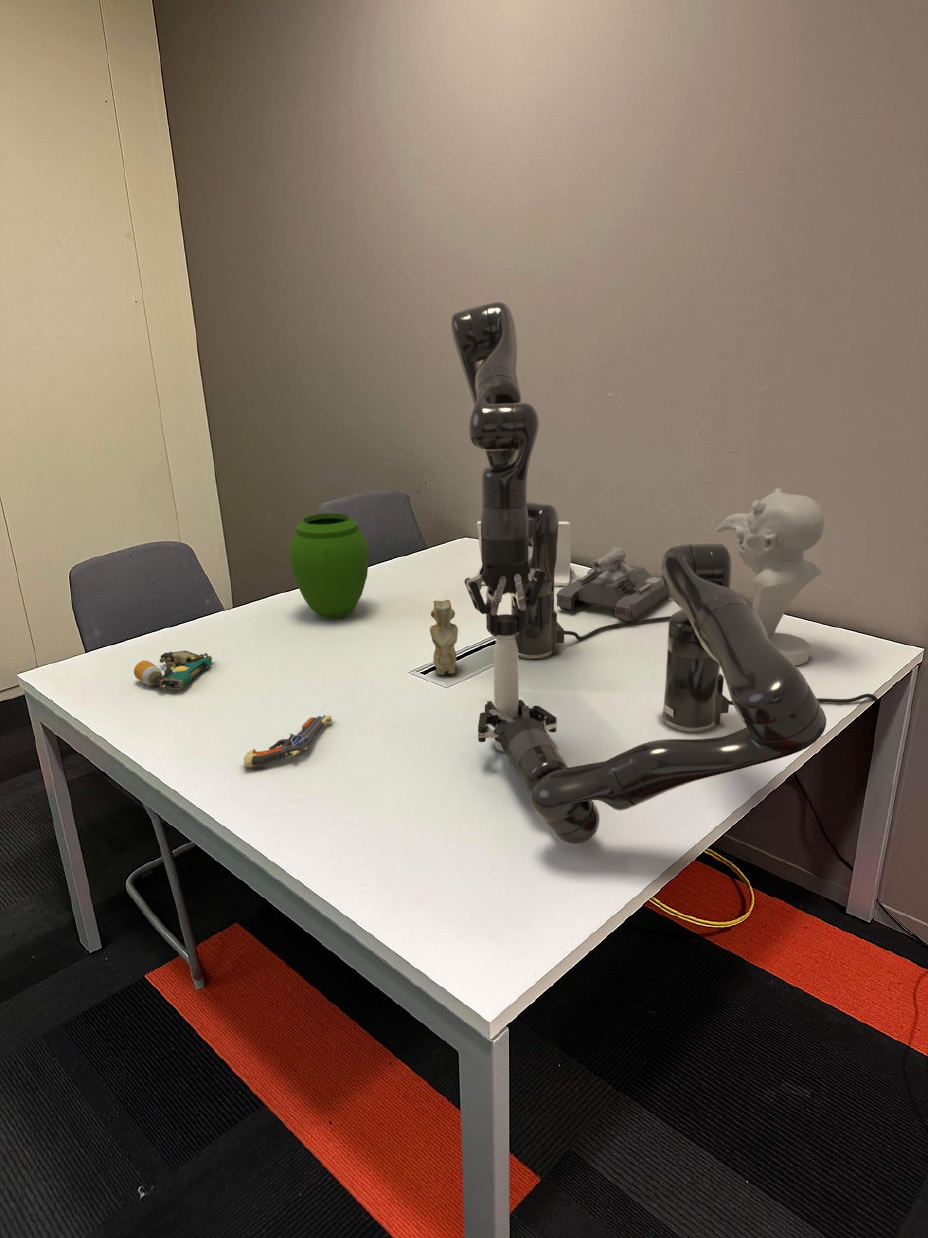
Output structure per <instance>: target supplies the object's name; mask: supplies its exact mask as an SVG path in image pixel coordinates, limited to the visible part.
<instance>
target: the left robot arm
mask: <svg viewBox="0 0 928 1238" xmlns="http://www.w3.org/2000/svg"><path fill="white" fill-rule="evenodd" d="M450 329H451V334H452V335H451V336H452V338H453V343H454V346H455V349H456V353H457V355H458V358H459V359H458V360H459V361H460V364H461V367H462V370H463V374H464V377H465V380H466V383H467V385H468V389H469V392H470V395H471V398H472V402H473V409H472V410H471V413H470V417H469V420H468V421H469V422H468V436H469V439H470V441H471V443H472V444H473V446H475V447H476V448H477V449H479V450H480V451H485V454H486V458H487V461H488V464H489V466H487V467H485V468H484V469H483V471H482V474H481V513H480V521H481V552H482V560H481V568H480V569H479V572H478V573H479V574H477V575H476V576H473V577H466V578H465V579H464V581H463V583H464V585H465V587H466V590H467V592H468V595H469V597H470V599H471V602H472V604H473V608H474V609H475V610H476V611H478V612H479V613H480V614H482V615H485V620H486V622H485V623H486V630H487V632H488V633H489V634H490V635H491V636H492V637H497V636H498V635H499V622H498V615H499V614H498V611H499V606H500V604H501V603H502V598H503V595H506V594H510V597H511V599H510V603H511V604H510V606H511V607H510V609H511V610H510V615H514V616H516V617H517V630H518V631H517V633H516V634H514V636H515V640H516V644H517V647H518V658H521V659H525V660H526V659H527V660H540V659H545V658H548V657H550V656H552V655H557V654H558V653H557V650H558V649H557V648H558V647H557V645H558V644H559V645H560V644H561V645H562V644H565V636H574V637H575V639H576V640H577V641H584V640H586V639H589V638H590V637H592V636H594V635H596V634H597V633H600V632H602V631H606V630H609V629H614V628H615V629H616V628H620V627H625V626H632V625H637V624H645V623H646V624H647V623H654V622H661V621H669V620H670V617H671V616H672V615H668V616H661V617H653V618H643V619H638V620H635V621H633V623H632V622H625V621H622V622H618V623H612V624H608V625H603V626H601V627H598V628H595V629H594V630H592V631H590V632H588V633H587V634H585V635H583V636H580V635H579V633H577V632H576V631H571V630H565V629H564V628H563V626H561V625H560V623H559V622H558V613H557V612H556V611H555V586H554V571H555V566H556V560H557V543H558V528H559V522H560V520H559V515H558V511H557V509H556V507H554V506H553V505H551V504H548V503H541V502H532V501H528V475H529V474H528V473H529V466H530V462H531V457H532V454H533V451H534V447H535V445H536V440H537V437H538V433H539V426H540V419H539V414H538V412H537V410H536V409H535V407H534V405H532V404H531V403H528V402H523V401H522V395H521V394H522V393H521V391H520V389H521V388H520V386H519V382H518V381H519V380H518V375H517V364H518V363H517V362H518V337H517V336H518V335H517V329H516V325H515V321H514V316H513V313H512V311H511V309H510V307H509V306H508V304H506V303H505V302H504V301H492V302H488V303H486V304H481V305H477V306H474V307H469V308H466V309H462V310H459V311H456V312H455V313H454V314H452V316H451V319H450ZM480 362H481V363H480ZM528 547H533V552H532V557H530V558H528ZM483 581H484V583H485V584H486V587H487V588H486V593H485V597H486V599H485V601H484V597H483V595H482V593H481V590H482V586H483V585H482V584H481V583H482V582H483Z"/></svg>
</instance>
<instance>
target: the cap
mask: <svg viewBox="0 0 928 1238" xmlns="http://www.w3.org/2000/svg"><path fill="white" fill-rule="evenodd" d="M497 615H498V622H499V635H501V636H510V635H514V634H516V633H517V631H518V630H517V617H516V616H514V615H511V613H502V614H497Z"/></svg>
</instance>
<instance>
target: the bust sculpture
mask: <svg viewBox="0 0 928 1238" xmlns="http://www.w3.org/2000/svg"><path fill="white" fill-rule="evenodd" d="M825 522H826V521H825V513H824V511H823V509H822V508H821V506H820V505H819V504H818V502H816V500H814V499H812V498H811V497H809V496H806V495H802V494H791V493H786V492H784V491H783V489H782V488H780V487H777V488H775V489H774V490H773V492H772V493H770V494H768V495H767V496H765V497H763V498H762V499H761V500H759V499H757V500H754V501H753V502H752V504H751V510H750V512H749V513H743V512H739V513H734V514H730V515H729V516H727V517H726V518H725V519H724V520H723V521H722V522H721V524H719V525H718V526H717V527H716V529H715V530H716V532H718V533H721V532H725V531H729V530H733V531H735V535H736V538H737V539H738V540H739V541H738V542H737V544H736V547H737V550H738V553H739V557H740V558H741V559H742V562H743V563H744V565H746V566H747V567H748V568H750V570H752V572H753V573H755V575H756V576H755V577H754V578H753V580H752V586H753V590H754V592H755V594H756V595H755V597H754V599H753V601H752V603H751V605H752V606H753V608H754V609H755V611H756V612H757V613H758V615H759V616H760V618H761V619H762V621H763V623H764V625H765V628H766V630H767V637H768V639H769V640H770V642H771V643H772V644H773V645H774V646H775V647H776V648H777V649H778V650H779V651H780V652H781V653H782V654H783V655H784V656H785V657H786V658H787V659H788V660H790V661H791V662H792V663H793V664H794V665H795V666H796V667H797V666H800V665H803V664H805V663H806V662H808V661H809V659H810V650H811V645H810V643H809V642H808V641H807V640H806V639H803V638H802V637H800V636H796V635H793V634H789V633H785V632H784V633H783V632H776V630H777V628H778V626H779V623H780V622H781V620H782V618H783V616H784V615H785V613H786V611H788V608H789V607H790V605H791V604H792V603H793V601H794V600H795V598H796V597H797V596H798V594H799V593H800V592H801V591H802V589H804V588H805V587H806V586H807V585H808V584H809V583H811V582H812V581H814V580H815V579H816V578H818V577H820V576H822V575H823V572H822V570H821V569H820V568H819V567H818V565H816V563H814V562H812V561H809V560H805V559H804V557H805V554H804V553H805V552H806V551H808V550H810V549H812V548H813V547H815V546H816V545H817V544H818V543H819V542H820V540H821V539H822V536H823V534H824V531H825Z"/></svg>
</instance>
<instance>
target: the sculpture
mask: <svg viewBox="0 0 928 1238" xmlns="http://www.w3.org/2000/svg"><path fill="white" fill-rule="evenodd" d="M455 615H456V611H455V609H453V608H452V602H451V601H450V599H445V600H433V610H431V612H430V617H431V618H432V619H433V620H434V621H435V622H436V623H435V624H433V625H431V626H429V633H430V636H431V640H432V641H431V642H432V643H433V645H434V648H435V649H434V652H433V656H432V657H433V659H432V660H433V665H434V667H435V668H436V671H437V674H438V675H445V674H446V672H447V673H448V674H455V673H456V666H457V665H456V663H457V652H456V649H455V644H456V643H457V642H458V637H459V635H458V634H459V627H458V626H457V624H455V623H453V622H451V621H452V620H453V619H454V618H455Z"/></svg>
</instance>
